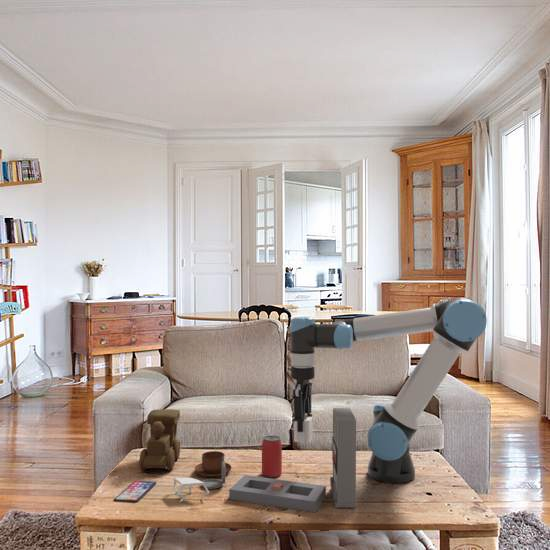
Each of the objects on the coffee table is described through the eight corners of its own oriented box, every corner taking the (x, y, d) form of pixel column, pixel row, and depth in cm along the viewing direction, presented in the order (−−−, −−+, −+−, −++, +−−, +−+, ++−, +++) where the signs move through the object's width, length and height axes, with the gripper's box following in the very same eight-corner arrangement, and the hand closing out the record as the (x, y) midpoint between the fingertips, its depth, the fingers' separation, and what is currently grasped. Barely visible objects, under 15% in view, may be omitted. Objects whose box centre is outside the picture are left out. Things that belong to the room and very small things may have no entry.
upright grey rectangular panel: (329, 489, 172) (330, 407, 172) (349, 489, 172) (350, 407, 172) (334, 508, 159) (334, 420, 158) (356, 508, 159) (356, 420, 158)
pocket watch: (197, 485, 175) (197, 453, 175) (219, 479, 180) (219, 447, 180) (211, 493, 169) (211, 460, 169) (234, 486, 174) (234, 454, 174)
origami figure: (166, 503, 162) (166, 486, 162) (174, 491, 170) (174, 475, 170) (207, 505, 161) (207, 487, 161) (213, 493, 169) (213, 477, 169)
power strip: (325, 495, 167) (325, 483, 167) (315, 512, 156) (315, 498, 156) (244, 484, 176) (244, 472, 176) (229, 499, 164) (229, 486, 164)
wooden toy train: (151, 454, 204) (151, 408, 204) (182, 454, 204) (182, 408, 204) (137, 474, 184) (137, 424, 184) (171, 475, 184) (172, 424, 184)
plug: (312, 439, 180) (312, 412, 180) (309, 443, 176) (309, 415, 176) (297, 437, 181) (297, 411, 181) (293, 441, 178) (293, 414, 178)
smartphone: (112, 499, 163) (134, 480, 178) (112, 502, 163) (134, 483, 178) (137, 500, 162) (156, 481, 177) (137, 504, 162) (157, 484, 177)
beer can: (282, 471, 187) (282, 435, 187) (280, 478, 181) (280, 441, 181) (262, 470, 188) (263, 434, 188) (260, 477, 182) (260, 440, 181)
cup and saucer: (196, 467, 192) (196, 449, 191) (232, 466, 192) (232, 448, 192) (192, 480, 180) (192, 461, 179) (230, 480, 180) (230, 460, 180)
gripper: (299, 361, 188) (299, 431, 188) (282, 369, 172) (283, 446, 172) (320, 362, 185) (321, 433, 186) (306, 371, 169) (307, 448, 169)
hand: (303, 439), depth 179 cm, fingers closed on plug, 4 cm apart
